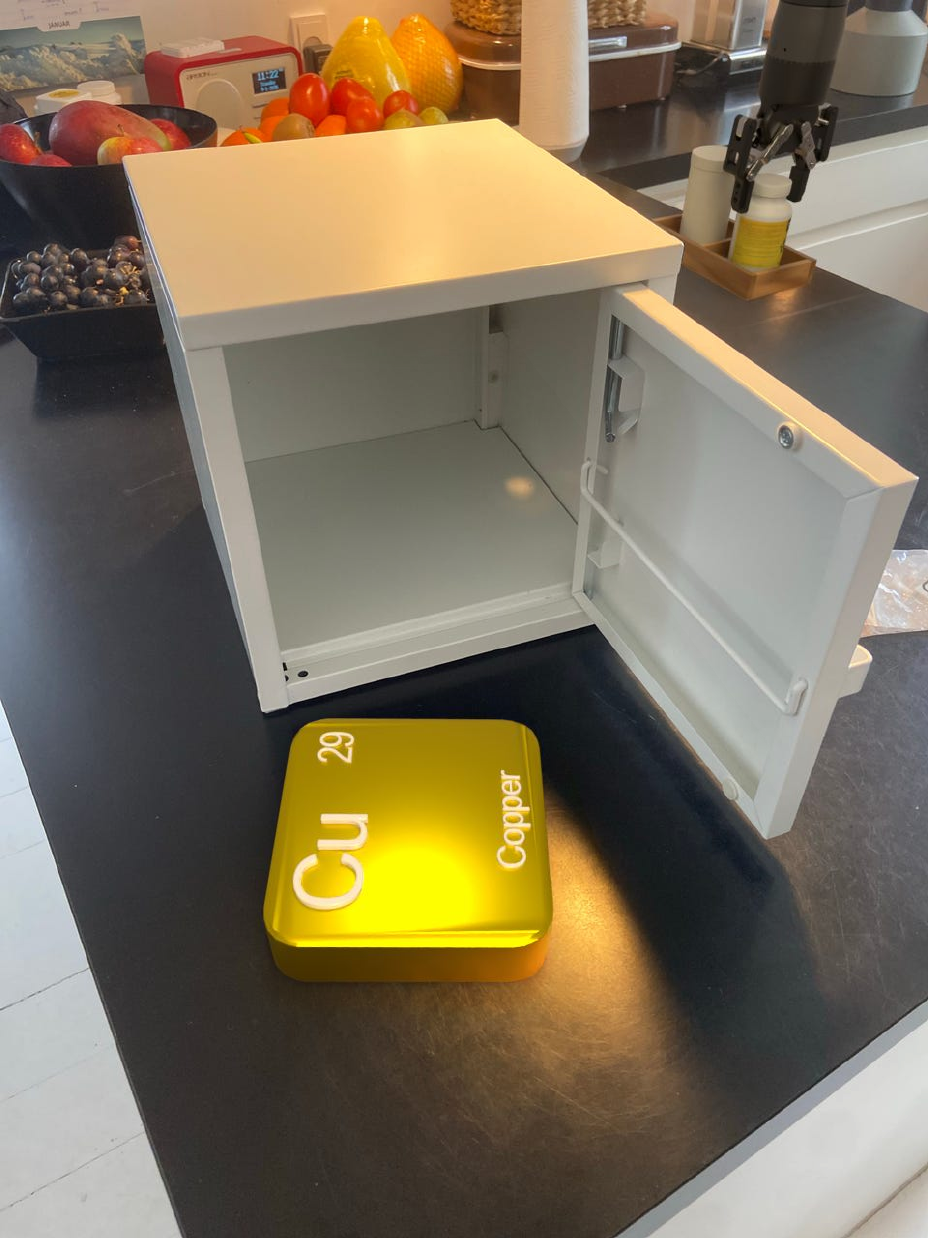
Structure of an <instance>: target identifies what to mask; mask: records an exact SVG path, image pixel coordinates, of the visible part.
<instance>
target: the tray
mask: <svg viewBox="0 0 928 1238" xmlns="http://www.w3.org/2000/svg"><path fill="white" fill-rule="evenodd" d="M682 214H683V212H682V213H677V214H671V215H666V216H661V217H657V218H652V219H651V218H650V220H651V221H653V222H654V223H656V224H657V225H658V226H660V227H662V228H663V229H665V230H666V231H667V232H669V233H671V234H672V235H674V236H677V237H678V238H680V239H681V240H682V241H683V242H684V243H685V251H684V256H683V261H682V265H681V266H683V264H684V266H683V267H685V268H686V269H688V270H691V271H692V272H694V273H696V274H698V275H699V276H701V277H703V278H705V279H707V280H709V281H710V282H712V283H714V284H715V285H717V286H719V287H721V288H722V289H725V290H726V291H728V292H730V293H732V294H734V295H736V296H737V297H739V298H741V299H743V300H744V301H751V300H755V299H759V298H763V297H766V296H771V295H774V294H778V293H781V292H782V293H783V292H785V291H790V290H793V289H797V288H801V287H805V286H809V285H811V283H812V280H813V276H814V272H815V268H816V265H817V261H818V260H817V259H815V258H814V257H811V256H809V255H807V254H805V253H804V252H801V251H799V250H797V249H795V248H793V247H791V246H788V245H786V244H785V245H784V249H783V253H782V257H781V261H780V265H779V266H778V267H773V268H769V269H765V270H761V271H757V272H751V271H749V270H747V269H745V268H743V267H741V266H739V265H737V264H736V263H734V262H732V261H730V260H728V259H727V257H728V253H729V248H730V243H731V238H732V233H733V229H734V224H735V219H732V218H730V217H729V221H728V226H727V231H726V236H725V239H722V240H718V241H713V242H709V243H704V244H700V245H699V244H697V243H695V242H694V241H692V240H690V239H688V238H686V237H684V236H682V235H680V234H679V231H680V225H681V219H682Z"/></svg>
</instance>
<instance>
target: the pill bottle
mask: <svg viewBox="0 0 928 1238" xmlns="http://www.w3.org/2000/svg"><path fill="white" fill-rule="evenodd" d="M753 180H754V181H755V183H754V188H753V192H752V197H751V201H750V206H749V210H748V212H747V213H743V214H740V213H738V212H736V214H735V219H734V220H735V224H734V229H733V233H732V238H731V243H730V248H729V253H728V257H727V259H728V260H730V261H732V262H734V263H736V264H737V265H739V266H741V267H743V268H745V269H747V270H749V271H751V272H757V271H761V270H765V269H769V268H773V267H778V266H779V265H780V261H781V257H782V253H783V249H784V245H786V241H787V237H788V232H789V228H790V225H791V221H792V218H793V207H792V204H791V203H790V201H788V200H786V196H788V195H789V193H790V189H791V185H792V181H791V179H789V176H788V177H787V176H785V175H781V174H778V173H768V172H767V173H765V172H763V173H758V174H757V175H756V177H755V178H754V179H753Z"/></svg>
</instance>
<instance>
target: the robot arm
mask: <svg viewBox="0 0 928 1238" xmlns="http://www.w3.org/2000/svg"><path fill="white" fill-rule="evenodd" d="M849 3H850V0H778V4H777V7H776V11H775V14H774V16H773V20H772V23H771V27H770V31H769V36H768V41H767V45H766V50H765V54H764V60H763V64H762V69H761V74H760V75H761V76H760V78H759V79H760V80H759V84H758V89H757V95H758V97H759V101H760V105H759V109H758V110H757V113H756V114H755V116H746V115H744V114H741V113H739V114H737V115H736V116H735V117H734V119H733V123H732V127H731V131H730V136H729V139H728V144H727V147H728V148H727V152H726V156H725V160H724V165H723V170H724V171H725V172H727V173H730V174H732V175H734V176H735V182H734V187H733V193H732V197H731V201H730V202H731V211H734V212H736V213H737V212H738V213H740V214H743V213H747V212H748V210H749V206H750V201H751V197H752V192H753V188H754V183H755V181H754V180H753V179H754V178H755V177H756V175H757V174H759V172H760V171H761V169H762V168H763V167H764V166H766V165H768V164H769V163H770V162H771V160H772V159H773V158H774V157H776V156H780V155H782V154H784V153H789V154H790V155H791V158H792V161H793V164H795V165H791V167H790V170H789V175H788V178H789V179H791V181H792V185H791V189H790V193H789V195H788V196H786V200H787V201H788V202H791V203H792V204H796V203H800V202H802V200H803V196H804V195H805V193H806V189H807V185H808V182H809V178H810V174H811V170H813V169H814V168H815V167H816V164H818V163H820V162H821V163H825V162H826V161H827V160H828V158H829V155H830V152H831V151H830V150H831V146H832V141H833V137H834V133H835V128H836V124H837V120H838V114H839V112H840V109H839V107H838V106H836V105H834V104H832V103H828V102H826V100H827V99H828V96H829V91H830V88H831V84H832V80H833V75H834V72H835V68H836V64H837V60H838V57H839V53H840V48H841V44H842V40H843V37H844V34H845V33H844V32H845V28H846V23H847V22H846V21H847V13H848V7H849ZM820 140H821V142H820V146H819V141H820ZM818 146H819V147H818ZM758 147H760V149H761V150H759V149H757V148H758ZM737 152H738V159H737V163H735V159H736V155H737ZM752 161H753V162H752ZM751 162H752V163H751Z"/></svg>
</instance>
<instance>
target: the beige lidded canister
mask: <svg viewBox="0 0 928 1238" xmlns="http://www.w3.org/2000/svg"><path fill="white" fill-rule="evenodd" d="M727 148H728V146H723V145H702V146H698V147H695V148H694V149H693V150H692V153H691V158H690V168H689V174H688V180H687V186H686V192H685V196H684V203H683V209H682V213H683V214H682V219H681V225H680V231H679V234H680V235H682V236H684V237H686V238H688V239H690V240H692V241H694V242H695V243H697V244H699V245H700V244H704V243H709V242H713V241H718V240H722V239H725V236H726V231H727V226H728V221H729V218H730V216H731V212H732V207H731V202H730V201H731V197H732V193H733V187H734V182H735V176H734V175H732V174H730V173H727V172H725V171H724V170H723V165H724V160H725V156H726V152H727ZM737 159H738V152H737V155H736V159H735V163H737Z"/></svg>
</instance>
